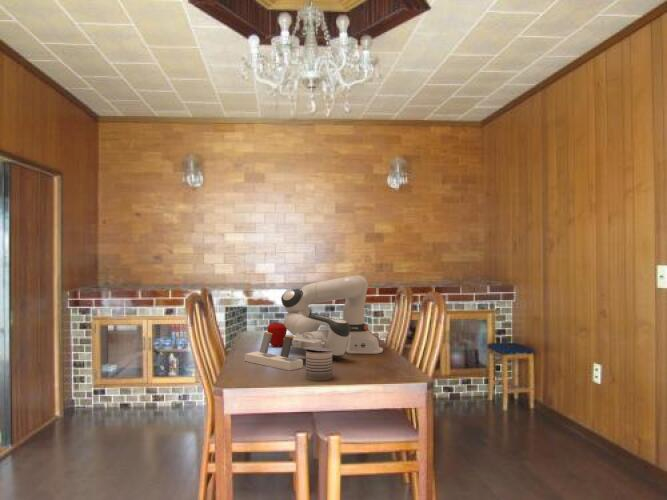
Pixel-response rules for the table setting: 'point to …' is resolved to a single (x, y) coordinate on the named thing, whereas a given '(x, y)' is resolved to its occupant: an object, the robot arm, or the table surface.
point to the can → (318, 363)
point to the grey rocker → (265, 342)
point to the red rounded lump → (277, 333)
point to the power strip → (274, 360)
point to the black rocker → (286, 346)
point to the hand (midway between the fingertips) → (290, 345)
